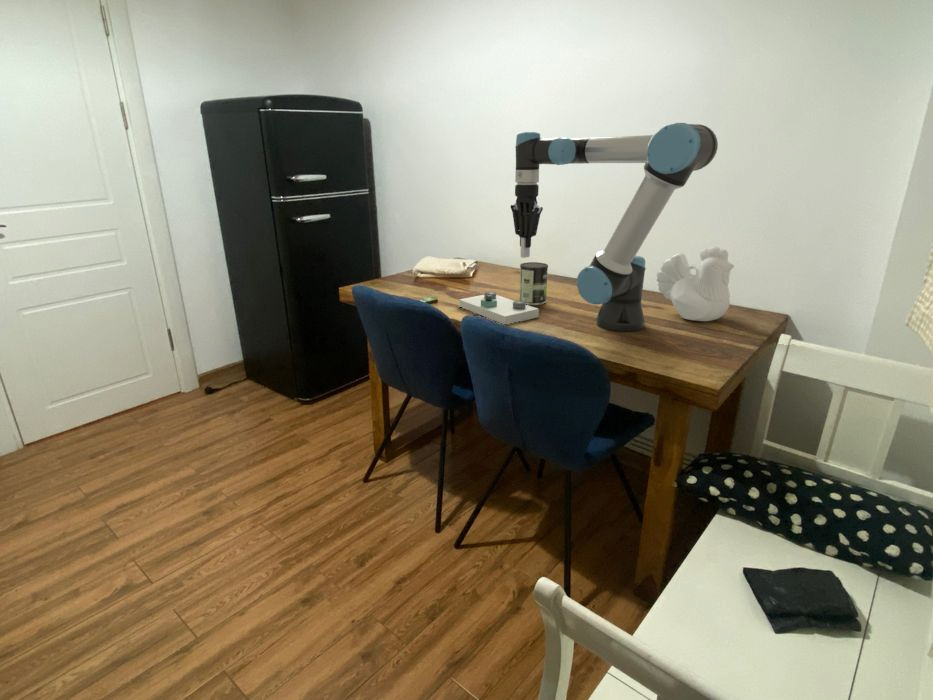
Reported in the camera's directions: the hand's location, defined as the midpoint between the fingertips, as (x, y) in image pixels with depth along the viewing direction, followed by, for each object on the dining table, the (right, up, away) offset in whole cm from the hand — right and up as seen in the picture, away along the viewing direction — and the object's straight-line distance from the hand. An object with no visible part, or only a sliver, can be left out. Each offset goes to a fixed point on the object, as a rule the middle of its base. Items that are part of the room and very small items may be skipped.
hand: (525, 256), depth 183 cm
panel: (-9, -18, +10) cm, 22 cm away
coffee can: (+5, -13, +23) cm, 27 cm away
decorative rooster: (+57, -20, +5) cm, 61 cm away
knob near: (-2, -19, +6) cm, 20 cm away
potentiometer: (-12, -16, +7) cm, 21 cm away
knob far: (-11, -14, +18) cm, 25 cm away
